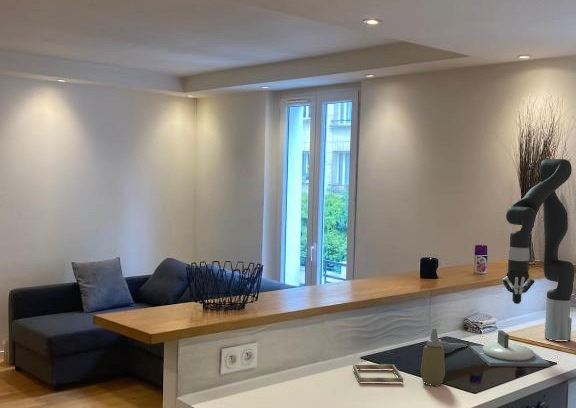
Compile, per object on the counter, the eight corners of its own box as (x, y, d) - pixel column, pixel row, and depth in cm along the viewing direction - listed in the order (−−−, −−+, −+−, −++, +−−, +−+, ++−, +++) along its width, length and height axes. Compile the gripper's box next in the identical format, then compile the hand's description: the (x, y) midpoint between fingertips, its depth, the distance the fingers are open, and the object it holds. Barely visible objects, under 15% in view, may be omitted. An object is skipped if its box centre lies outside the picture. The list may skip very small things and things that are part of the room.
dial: (541, 360, 238) (542, 343, 238) (493, 360, 237) (493, 342, 237) (520, 345, 257) (520, 329, 257) (474, 345, 256) (475, 328, 256)
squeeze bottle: (414, 380, 217) (417, 326, 216) (435, 378, 220) (438, 325, 219) (428, 388, 209) (430, 333, 208) (450, 386, 212) (452, 331, 211)
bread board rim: (393, 370, 227) (393, 364, 227) (403, 384, 213) (403, 378, 213) (352, 370, 226) (353, 364, 226) (359, 383, 212) (359, 377, 212)
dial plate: (524, 349, 258) (524, 345, 258) (549, 366, 236) (549, 362, 236) (469, 348, 257) (469, 345, 257) (489, 366, 235) (489, 362, 235)
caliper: (436, 356, 247) (437, 339, 246) (434, 355, 247) (434, 339, 247) (467, 347, 260) (468, 331, 259) (465, 346, 261) (466, 331, 260)
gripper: (531, 257, 256) (529, 301, 257) (498, 257, 256) (496, 301, 257) (539, 260, 249) (537, 305, 250) (505, 259, 248) (503, 305, 249)
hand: (516, 303), depth 253 cm, fingers closed
